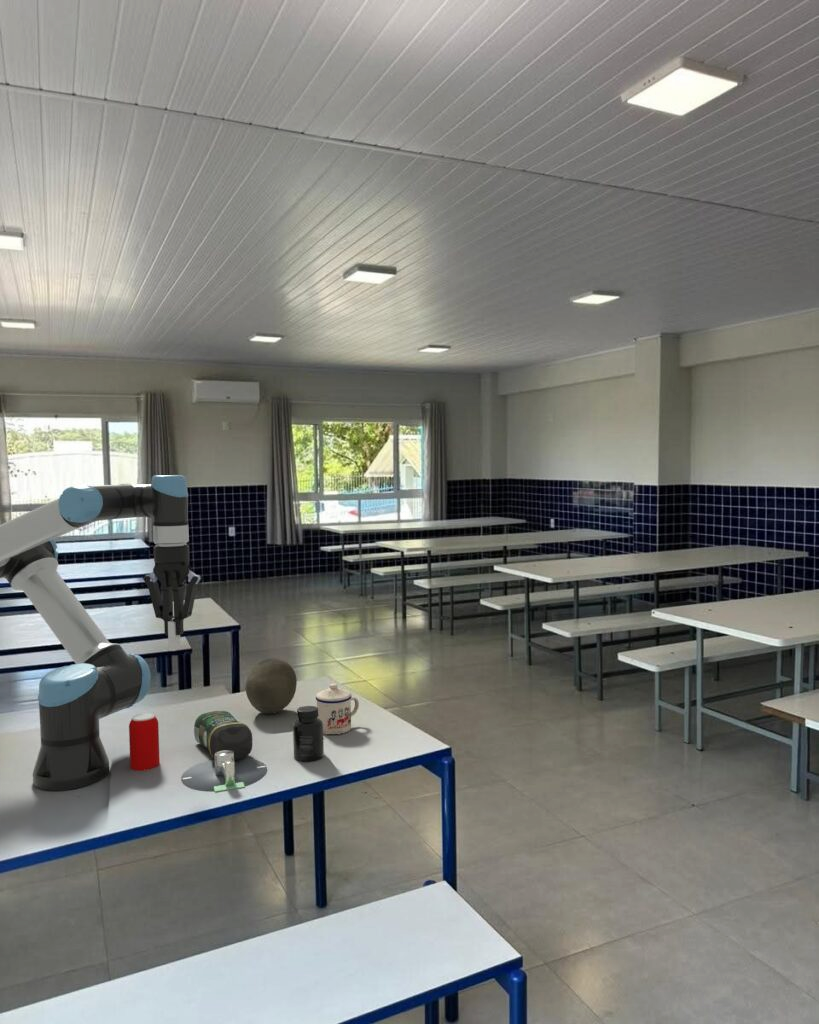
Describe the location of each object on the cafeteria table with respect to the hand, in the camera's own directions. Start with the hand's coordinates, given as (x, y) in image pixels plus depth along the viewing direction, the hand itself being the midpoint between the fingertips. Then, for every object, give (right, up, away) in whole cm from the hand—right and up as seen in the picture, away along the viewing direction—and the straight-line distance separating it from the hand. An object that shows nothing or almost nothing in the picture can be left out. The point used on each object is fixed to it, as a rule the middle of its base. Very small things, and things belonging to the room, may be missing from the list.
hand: (174, 649), depth 165 cm
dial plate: (+13, -27, -6) cm, 30 cm away
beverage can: (-6, -27, -1) cm, 28 cm away
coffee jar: (+4, -22, +15) cm, 27 cm away
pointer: (+14, -25, -9) cm, 30 cm away
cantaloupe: (+15, -25, +36) cm, 46 cm away
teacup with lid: (+35, -25, +24) cm, 49 cm away
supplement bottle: (+30, -26, +3) cm, 40 cm away
